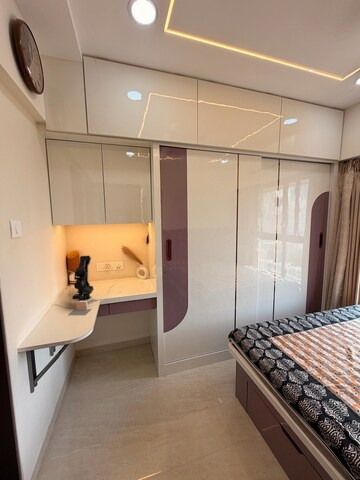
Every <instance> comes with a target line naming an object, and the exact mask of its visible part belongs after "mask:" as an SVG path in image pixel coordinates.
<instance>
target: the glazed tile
mask: <svg viewBox="0 0 360 480" xmlns="http://www.w3.org/2000/svg"><path fill="white" fill-rule="evenodd" d="M87 303H88V300H85V301H79V300H76V301H75V309H77V310H78V311H87V310H88V309H89V307H88V306H89V304H87Z"/></svg>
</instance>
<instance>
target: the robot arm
mask: <svg viewBox="0 0 360 480" xmlns="http://www.w3.org/2000/svg"><path fill="white" fill-rule="evenodd" d="M91 260H92V257H91V255H81V256H79V263H78V267H77V268H76V269H75V271H74V276H73V277H74V278H73V279H74V280H76V281H75V283H74V285H73V287H74V289H76V290H77V291H76V293H75V294H74V295H72V300H77V301H88V300H91V298H92V296H91V294H92V293H93V291H94V286H93V285H90V282H89V265H90V264H91Z"/></svg>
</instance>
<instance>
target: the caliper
mask: <svg viewBox="0 0 360 480" xmlns="http://www.w3.org/2000/svg"><path fill="white" fill-rule="evenodd" d="M95 302H98V299H96V298H95V299H94V298H92V299H90V301H87V304H88V305H90V304H93V303H95ZM73 310H77V309H76V308H74V309H73Z"/></svg>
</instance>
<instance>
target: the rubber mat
mask: <svg viewBox="0 0 360 480" xmlns="http://www.w3.org/2000/svg"><path fill="white" fill-rule="evenodd" d="M92 310H93V309H92V308H88V310H87V311H78V310H74V309H72V310H71V311H70V312H69V313H67V316H86V315H88V314H89V313H90V312H91V311H92Z"/></svg>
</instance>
